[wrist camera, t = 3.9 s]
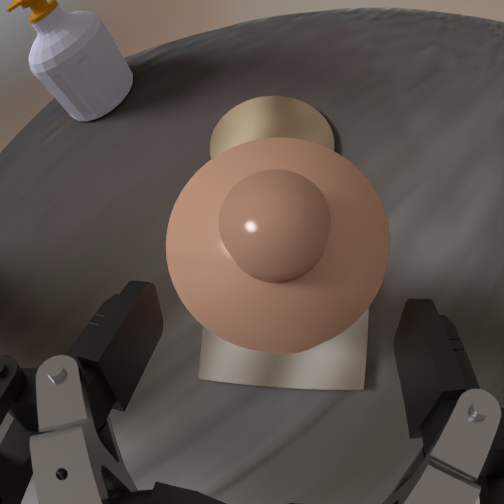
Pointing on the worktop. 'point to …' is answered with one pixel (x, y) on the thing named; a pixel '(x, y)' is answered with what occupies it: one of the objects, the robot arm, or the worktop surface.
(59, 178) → the worktop surface
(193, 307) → the lidded jar
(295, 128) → the mat
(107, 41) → the soap bottle
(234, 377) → the white display stand
